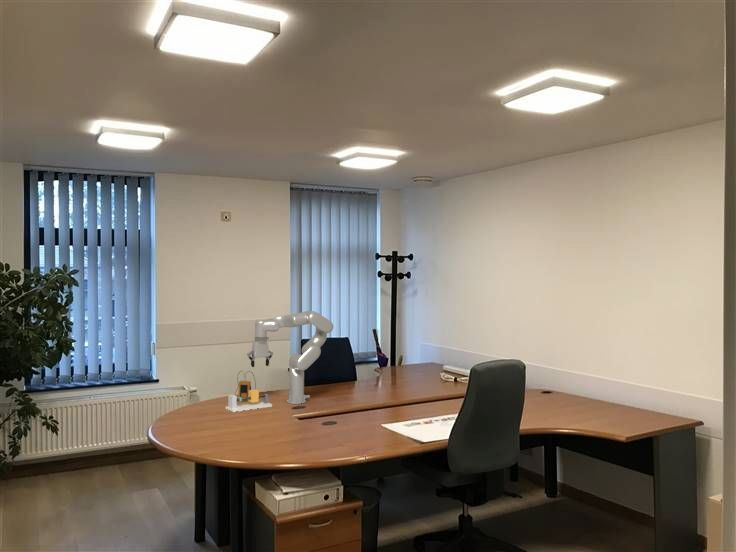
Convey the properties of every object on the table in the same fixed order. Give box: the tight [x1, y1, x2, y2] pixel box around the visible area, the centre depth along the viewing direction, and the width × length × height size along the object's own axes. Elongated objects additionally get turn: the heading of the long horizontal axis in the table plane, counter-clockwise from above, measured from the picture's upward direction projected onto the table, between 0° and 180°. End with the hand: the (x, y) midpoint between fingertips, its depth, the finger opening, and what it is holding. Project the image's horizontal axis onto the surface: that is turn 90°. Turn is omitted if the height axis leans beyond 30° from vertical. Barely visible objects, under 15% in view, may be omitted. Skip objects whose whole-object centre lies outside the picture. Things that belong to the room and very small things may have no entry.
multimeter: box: [234, 370, 257, 402], centre depth 386 cm, size 15×10×20 cm
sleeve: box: [247, 389, 260, 403], centre depth 366 cm, size 5×4×7 cm
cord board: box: [225, 393, 273, 413], centre depth 364 cm, size 27×10×9 cm, turn 130°
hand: (260, 366), depth 371 cm, fingers open, 9 cm apart
